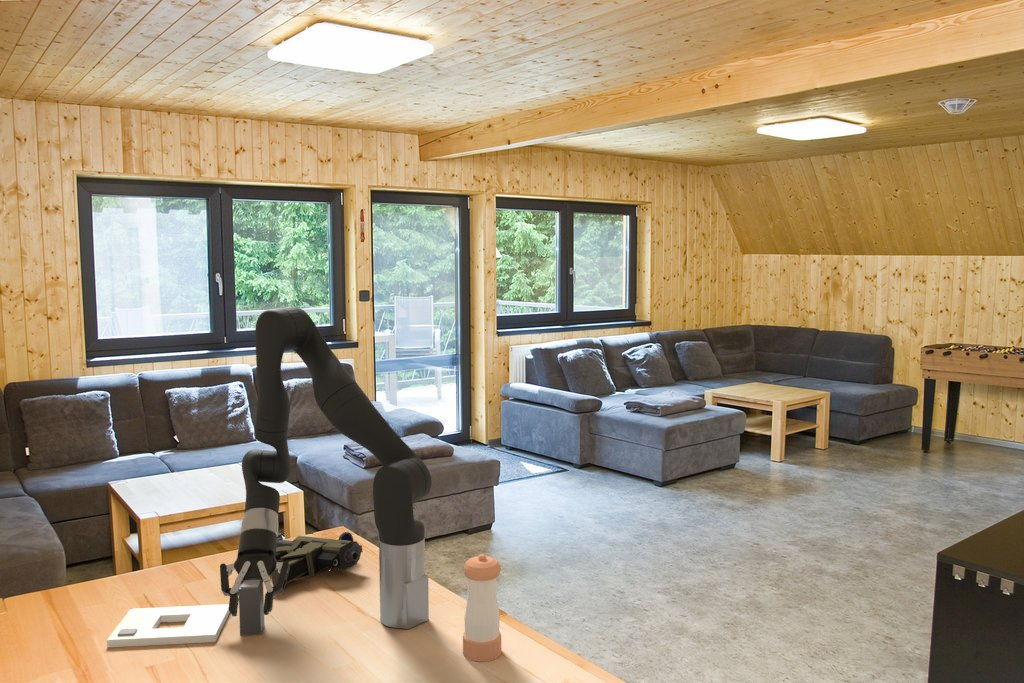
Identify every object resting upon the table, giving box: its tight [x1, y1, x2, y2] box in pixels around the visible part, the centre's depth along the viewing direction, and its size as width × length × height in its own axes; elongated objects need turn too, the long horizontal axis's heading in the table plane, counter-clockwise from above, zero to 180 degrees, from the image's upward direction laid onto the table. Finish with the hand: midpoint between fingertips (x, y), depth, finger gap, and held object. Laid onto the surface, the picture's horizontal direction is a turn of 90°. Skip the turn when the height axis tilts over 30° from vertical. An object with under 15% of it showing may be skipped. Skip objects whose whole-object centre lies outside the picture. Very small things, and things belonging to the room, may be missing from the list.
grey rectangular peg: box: [238, 580, 265, 636], centre depth 167 cm, size 4×4×10 cm
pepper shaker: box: [462, 553, 502, 663], centre depth 158 cm, size 7×7×19 cm
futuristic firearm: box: [270, 531, 363, 587], centre depth 200 cm, size 7×31×25 cm
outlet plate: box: [106, 603, 230, 648], centre depth 169 cm, size 20×14×2 cm
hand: (250, 613), depth 166 cm, fingers open, 5 cm apart
